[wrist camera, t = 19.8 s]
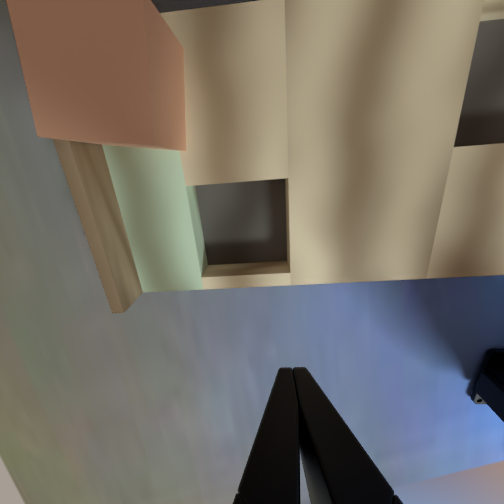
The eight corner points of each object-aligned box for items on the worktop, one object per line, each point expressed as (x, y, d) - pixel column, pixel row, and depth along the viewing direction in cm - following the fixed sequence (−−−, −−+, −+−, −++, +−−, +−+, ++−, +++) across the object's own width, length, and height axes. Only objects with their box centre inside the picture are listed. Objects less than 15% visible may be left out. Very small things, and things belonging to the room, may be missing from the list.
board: (617, -16, 12) (829, -124, 8) (519, 258, 18) (609, 292, 13) (86, 48, 14) (2, -8, 10) (147, 278, 20) (112, 313, 15)
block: (183, 48, 12) (142, -12, 8) (186, 151, 14) (154, 145, 10) (90, 41, 12) (1, -22, 8) (104, 144, 14) (38, 136, 10)
